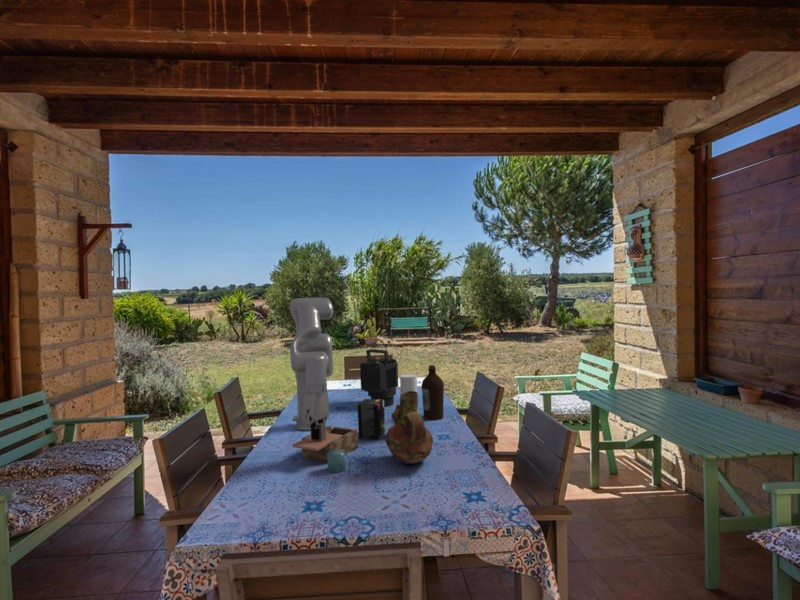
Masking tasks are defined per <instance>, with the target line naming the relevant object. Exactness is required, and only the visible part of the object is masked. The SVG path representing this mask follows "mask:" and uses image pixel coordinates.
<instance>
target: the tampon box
mask: <svg viewBox="0 0 800 600" xmlns="http://www.w3.org/2000/svg"><path fill="white" fill-rule="evenodd" d="M385 419H386V417H385V407H384V399H371V398H364V399H363V400H361V401H360V402H358V404H357V422H358V427H357V431H358V440H374V441H375V440H379V441H380V440H381V438H382V437H383V436H384V435H385V434H386V427H385V424H386V421H385Z"/></svg>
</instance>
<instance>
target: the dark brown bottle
mask: <svg viewBox="0 0 800 600" xmlns="http://www.w3.org/2000/svg"><path fill="white" fill-rule="evenodd" d="M444 387H445V385H444V380H443V379H442V378H441V377H440V376H439V375H438V374H437V369H436V365H435V364H429V365H428V374H427V375H426V376H425V378H424V379H423V380H422V382H421V396H422V410H423V418H424V420H427V419H429V420H428V421H438V420H437V419H439V420H442V419H444V400H445V399H444V397H445V392H444V391H445V388H444Z"/></svg>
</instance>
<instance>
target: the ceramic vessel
mask: <svg viewBox="0 0 800 600" xmlns="http://www.w3.org/2000/svg"><path fill="white" fill-rule="evenodd" d="M418 407H419V393H418V391H417V392H415V391H409V392H405V393H401V392H400V396H399V404H396V405H395V409H394V411H393V412H392V413H391V419H392V420H393V423H394V424H393V425H392V426H390V427H389V428H388V430H387V431H386V433H385V444H386V447H387V448H388V450H389V452H390V453H391V455H392V456H393V457H394V458H395V459H397V460H398V461H399V462H400V463H402V464H417V463H420V462H423V461H424V460H425V459H427V458H428V457H429V456H430V455H431V452H432V449H433V443H434V436H433V435H432V433H431V432H430V430H429V429H427V427H426V425H425V421H424V419H423V418H424V417H422V415H421V414H420V413H419V408H418Z"/></svg>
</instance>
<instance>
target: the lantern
mask: <svg viewBox="0 0 800 600" xmlns="http://www.w3.org/2000/svg"><path fill="white" fill-rule="evenodd" d="M365 352H366V353H365V354H366V359H367V360H366V361H364V362H360V364H359V368H360V369H359V371H360V389H361V390H362V391H363V392H367V395H368V397H370V399H384V408H389V407H392V406H393V404H394V403H395V401H394V400H395V399H394V398H395V397H394V396H396V395H397V388H399V363H398V361H397V359H395V358H390V357H389V351H388V350H386V349H372V348H371V349H367V350H366V351H365ZM371 353H372V354H373V353H374V354H383V355H384V358H383V357H372V356H371V355H372V354H371ZM391 405H392V406H391ZM388 406H389V407H388Z"/></svg>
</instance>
